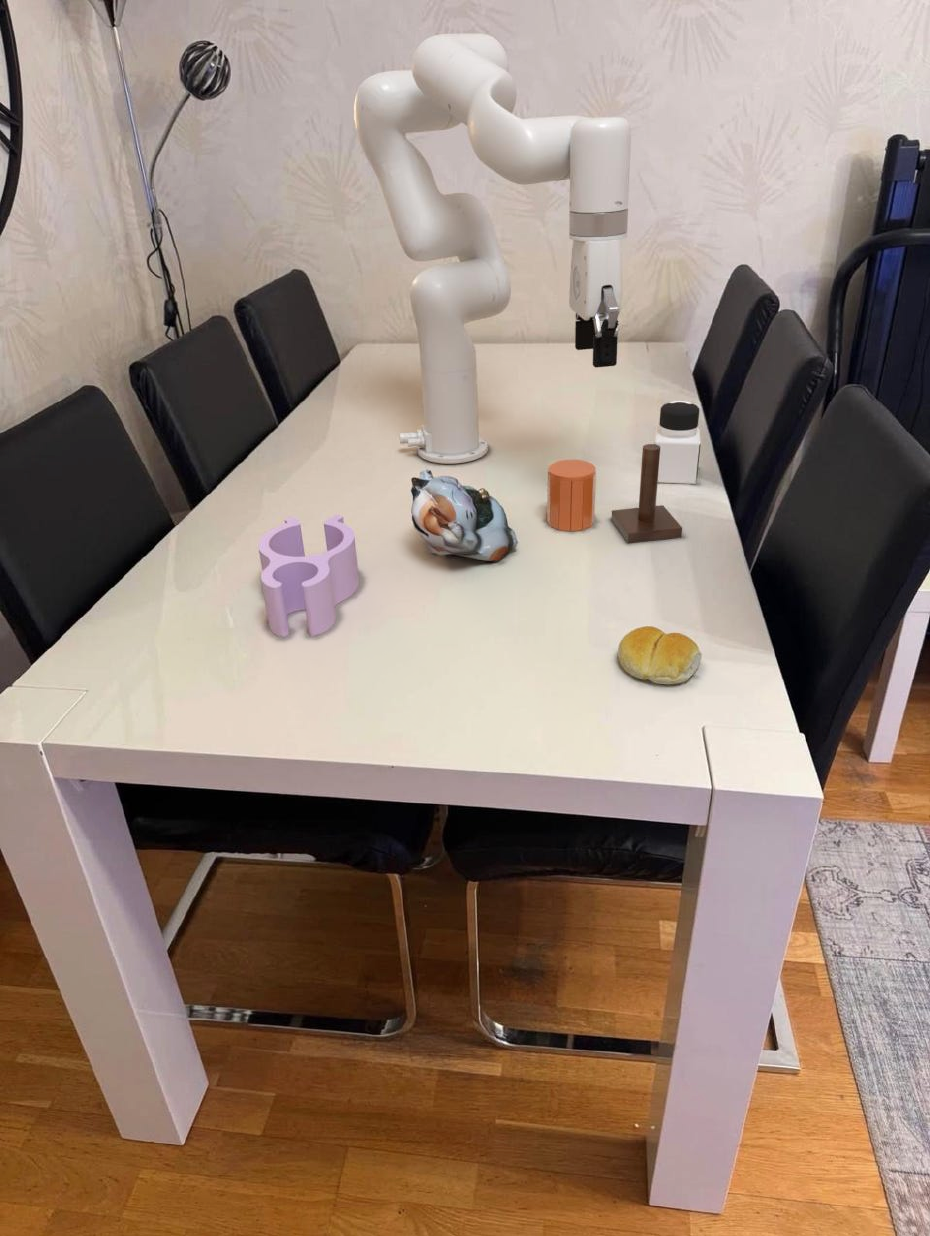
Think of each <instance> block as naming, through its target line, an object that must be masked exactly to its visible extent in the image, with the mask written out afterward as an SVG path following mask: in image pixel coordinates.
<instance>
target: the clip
mask: <svg viewBox="0 0 930 1236" xmlns="http://www.w3.org/2000/svg"><path fill="white" fill-rule="evenodd" d="M283 520H284V523H283V524H281V525H278V526H275V527H274V528H272V529H270V530H268V531H266V532H265V533H264V534H263V535H262V536H261V537H260V539H258V542H257V548H258V553H259V554H258V555H259V560H260V565H261V571H262V572H261V574H260V581H261V586H262V591H263V592H262V593H263V598H264V603H265V604H264V605H265V609H266V614H267V620H268V624H269V625H268V627H269V629H270V631H271V632H272V633H273V634H274V635H276V636H279V637H281V638H285V637H288V636H289V635H290V632H291V631H290V627H289V620H288V615H289V614H292V613H295V612H298V611H305V615H306V621H307V628H308V629H307V630H308V634H309V636H311V637H315V636H319V635H321V634H323V633H325V632H327V631H329V629H331V628H332V627H333V626H334V624H336V620H337V613H336V606H338V605H339V604H340V603H342V602H344V601H345V600H347V599H349V598H350V597H352V596H353V595H354V594H355V593H356V592H357V590H358V589H359V586H360V574H359V573H360V572H359V565H358V555H357V547H356V538H355V537H356V536H355V532H354V530H353V529H352V527H350V526H349V525H347V524H346V523H344V515H341V514H335V515H333V516H331V517H329V518H327V519H326V520H325V521H323V530H324V536H325V543H326V544H325V545H326V551H325V552H321V553H318V554H314V555H307V556H306V553H305V545H304V539H303V534H302V533H303V532H302V527H301V521H300V520H299V519H298V518H297V517H295V516H293V515H292V516H291V515H290V516H286V517H285V518H284V519H283Z"/></svg>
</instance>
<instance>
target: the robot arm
mask: <svg viewBox="0 0 930 1236" xmlns="http://www.w3.org/2000/svg"><path fill="white" fill-rule="evenodd" d="M517 95H518V94H517V86H516V82H515V80H514V77H513V76H512V75H511V74H510V65H509V59H508V55H507V52H506V50H505V48H504V47H503V46H502V44H501V42H500V41H498V39H497V38H495V37H493V36H492V35H490V34H486V33H480V32H479V33H475V32H474V33H471V32H470V33H439V34H436V35H432V36H429V37H428V38H426V39H425V40H423V41H422V42H421V43H420V44H419V45H418V47H417V48H416V50H415V52H414V53H413V56H412V60H411V69H400V70H399V69H396V70H386V71H383V72H378V73H375V74H372V75H370V76H368V77H367V78H365V79H364V80H363V81H362V82H361V83H360V85H359V86H358V88H357V90H356V93H355V98H354V104H353V120H354V127H355V131H356V135H357V139H358V141H359V144H360V147H361V149H362V151H363V153H364V155H365V157H366V159H367V161H368V163H369V164H370V166H371V168H372V170H373V171H374V175H375V176H376V178H377V179H378V182H379V185H380V188H381V190H382V194H383V196H384V200H385V203H386V206H387V209H388V211H389V214H390V217H391V220H392V224H393V226H394V230H395V233H396V235H397V238H398V241H399V243H400V246H401V248H402V250H403V252H404V254H405V255H406V257H407V258H409V259H410V260H412V261H414V262H430V261H435V260H436V261H437V260H443V259H448V258H454V257H457V258H458V261H455V262H449V263H443V264H439V265H434V266H431V267H429V268H426V269H424V270H423V271H421V272H420V273H419V274H417V275H416V277H414V279H413V281H412V283H411V285H410V290H409V300H410V305H411V311H412V314H413V317H414V321H415V326H416V331H417V337H418V346H419V347H418V349H419V357H420V358H419V359H420V360H419V361H420V368H421V369H420V372H421V373H420V374H421V387H422V404H423V417H424V418H423V420H424V423H423V424H421V429H416V432H415V431H414V432H409V431H408V432H399V433H398V436H399V444H400V445H404V444H405V445H406V444H407V447H408V448H409V447H417V454H418V456H419V457H420V458H421V459H423V460H424V461H427V462H431V463H434V464H443V465H444V464H445V465H446V464H447V465H453V464H455V465H456V464H464V463H468V462H473V461H476V460H478V459H481V458H483V457H484V456H485V455H487V453H488V451H489V444H488V442H487V440H485V439H484V438H482V437H480V433H479V432H480V431H479V430H480V429H479V401H478V400H479V399H478V366H477V351H476V348H475V344H474V342H473V340H472V338H471V337H470V335H469V333H468V332H467V330H466V329H465V324H468V323H471V322H476V321H480V320H483V319H487V318H491V317H495V316H497V315H499V314H501V313H502V312H503V311H505V310H506V309H507V307H508V305H509V303H510V300H511V296H512V295H511V293H512V288H511V279H510V276H509V275H510V274H509V272H508V268H507V265H506V262H505V259H504V256H503V253H502V249H501V247H500V244H499V240H498V237H497V234H496V231H495V228H494V225H493V222H492V220H491V217H490V214H489V211H488V209H486V206H485V205H484V204H483V202H482V201H481V200H480V199H479V198H478V197H476V196H475V195H473V194H471V193H467V192H455V193H447V194H443V193H441V192H440V189H439V188H438V186H437V183H436V181H435V178H434V175H433V171H432V169H431V166H430V164H429V162H428V161H427V159H426V158H425V156H424V155H423V153H422V152H421V151H420V150H419V149H418V148H417V147H416V146H415V145H414V144H413V143H411V141H409V140H408V138H407V137H406V134H413V133H424V132H425V133H426V132H437V131H439V132H440V131H446V130H451V129H453V128H455V127H458V126H459V125H461V124H463V125H465V126H466V127H467V134H468V138H469V141H470V144H471V148H472V150H473V152H474V154H475V156H476V158H478V160H479V161H480V162H481V163H483V164H484V165H485V166H486V167H487V168H489V169H490V170H492V171H493V172H494V173H496V174H497V175H499V176H500V177H502V178H503V179H505V180H506V181H508V182H511V183H514V184H518V185H523V186H526V185H534V184H542V183H549V182H554V181H555V182H560V181H567V180H569V220H568V221H569V225H568V227H569V228H568V229H569V232H568V234H569V235H568V237H569V239H570V240H571V241H572V248H571V259H570V274H569V275H570V276H569V277H570V278H569V297H568V298H569V299H568V301H569V302H568V304H569V307H570V309H571V310H572V311H573V312H575V325H574V326H575V329H574V331H575V332H574V333H575V334H574V335H575V336H574V348H575V349H576V350H577V351H583V350H585V351H586V350H592V366H593V367H594V368H597V369H598V368H607V367H615V366H616V365H617V364H618V337H619V327H618V326H619V320H618V317H619V315H620V313H621V307H622V306H621V304H622V272H623V271H622V257H623V255H622V243H621V242H622V241H621V240H622V239H626V238H627V237H628V221H629V220H628V219H629V195H630V194H629V192H630V169H631V168H630V166H631V165H630V164H631V141H632V129H631V124H630V122H629V121H628V120H627V119H626V118H625V117H622V116H621V117H620V116H601V117H600V116H597V117H588V116H583V115H576V114H574V115H572V114H571V115H557V116H555V115H554V116H541V117H531V118H522V117H519V116H516V115H515V114H513V112H514V109H515V108H516V103H517ZM601 322H602V323H601Z"/></svg>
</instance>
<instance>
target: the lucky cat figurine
mask: <svg viewBox="0 0 930 1236" xmlns="http://www.w3.org/2000/svg"><path fill="white" fill-rule="evenodd" d="M410 481H411V488H410V492H411V493H410V494H411V495H412V504H411V509H410V512H411V522H412V525H413V528H414V529H415V531H416V532H417V534H419V536H421V538H422V539H424V541H426V543H427V547H428V549H429V552H430V554H431V555H438V556H446V555H455V556H458V557H465V558H469V559H474V560H477V561H478V560H479V561H488V562H491V563H498V562H499V561H501V560H502V559H503V558H504V557H506V556H507V555H508V554H509V553H510V552H511V551H512V549H514V548H517V547H518V545H519V541H518V539H517V535H516V532H515V530H514V529H513V528H511V527H510V526H509V523H508V522H509V521H508V518H507V514H506V512H505V509H504V507H503V506H502V504H500V502H499V501H498V500H497V499H496V498H495V497H494V496H492V495H490V493H489V491H488V490H486V489H485V488H484V487H481V488H479V489H477V488H475V487H473V486H471V485H462V483H460V482H459V480H458V479H457V478H455V477H453V476H450V475H441V476H435V477H434V476H433V473H432V470H430V469H423V470H421V471H419V477H415V476H414V477H412V478H411V479H410Z"/></svg>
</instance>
